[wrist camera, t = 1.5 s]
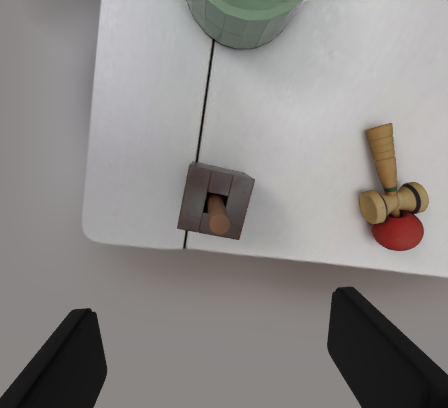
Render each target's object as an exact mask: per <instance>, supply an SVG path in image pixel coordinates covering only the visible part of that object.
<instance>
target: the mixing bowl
mask: <svg viewBox="0 0 448 408" xmlns="http://www.w3.org/2000/svg"><path fill="white" fill-rule="evenodd" d="M303 1H304V0H187V2H188V5H189V7H190V10H191V13H192V15H193V17H194V18H195V19H196V21H197V22H198V23H199V25H200V26H201V27H202V29H203V30H204V31H205V33H207V34H208V35H209V36H211V37H212V38H214V39H215V40H216V41H218V42H219V43H221V44H223V45H227V46H230V47H233V48H236V49H242V48H256V47H258V46H260V45H262V44H265V43H267V42H269V41H271V40H272V39H273V38H275V37H276V36H277V35H278V34H279V33H280V32H281V31H282V30H283V29H284V28H285V27H286V25H287V24H288V23H289V21H290V20H291V18H292V17H293V15H294V14H295V12H296V11H297V9H298V8H299V6H300V5H301V3H302V2H303Z"/></svg>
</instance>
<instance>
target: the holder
mask: <svg viewBox="0 0 448 408" xmlns="http://www.w3.org/2000/svg"><path fill="white" fill-rule="evenodd" d="M254 181H255V180H254V179H253V178H251V177H250V176H248V175H246V174H245V173H242V172H238V171H234V170H229V169H225V168H220V167H216V166H212V165H207V164H203V163H198V162H194V161H192V163H191V164H190V165H189V169H188V174H187V180H186V185H185V190H184V195H183V200H182V205H181V210H180V216H179V221H178V226H177V229H182V230H187V231H193V232H199V233H203V234H209V235H214V236H220V237H225V238H231V239H236V240H239V238H240V235H241V231H242V227H243V223H244V219H245V215H246V212H247V208H248V204H249V200H250V196H251V192H252V189H253V185H254ZM207 192H210V193H215V194H219V195H221V198H222V200H223V203H224V206H225V209H226V211H227V214H228V217H229V219H230V223H231V226H230V229H229V230H228V231H227V232H226V233H225V234H221V235H218V234H215V233H213V232H212V231H211V230H210V227H209V217H208V204H207V200H206V196H207Z"/></svg>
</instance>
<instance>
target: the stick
mask: <svg viewBox="0 0 448 408" xmlns="http://www.w3.org/2000/svg"><path fill="white" fill-rule="evenodd" d="M207 204H208V217H209V227H210V230H211V231H212V232H213V233H215V234H218V235H221V234H225V233H226V232H227V231H228V230H229V229H230V226H231V223H230V219H229V217H228V214H227V211H226V209H225V206H224V203H223V200H222V198H221V195H219V194H215V193H210V192H207Z"/></svg>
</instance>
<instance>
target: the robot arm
mask: <svg viewBox="0 0 448 408" xmlns="http://www.w3.org/2000/svg"><path fill="white" fill-rule="evenodd" d="M327 347H328V351H329V354H330V356H331V358H332V359H333V361H334V363H335V364H336V366H337V368H338V369H339V371H340V372H341V374H342V376H343V378H344V379H345V381H346V382H347V384H348V386H349V387H350V389H351V391H352V392H353V394H354V395H355V397H356V399H357V400H358V402H359V404H360V405H361V407H362V408H448V375H447V374H446V373H445V372H444V371H443V370H442V369H441V368H440V367H439V366H438V365H437V364H435V362H433V361H432V360H431V359H430V358H429V357H428V356H427V355H426V354H425V353H424V352H423V351H422V350H420V349H419V348H418V347H417V346H416V345H415V344H414V343H413V342H412V341H411V340H410V339H409V338H407V336H405V335H404V334H403V333H402V332H401V331H400V330H399V329H398V328H397V327H396V326H395V325H394V324H392V323H391V322H390V321H389V320H388V319H387V318H386V317H385V316H384V315H383V314H382V313H381V312H379V310H377V309H376V308H375V307H374V306H373V305H372V304H371V303H370V302H369V301H368V300H367V299H366V298H365V297H363V296H362V295H361V294H360V293H359V292H358V291H357V290H356V289H355V288H353V287H341V288H340V287H339V288H337V289H336V291H335V292H333V294H332V302H331V312H330V323H329V332H328V342H327ZM106 375H107V365H106V360H105V355H104V349H103V344H102V339H101V334H100V329H99V324H98V319H97V314H96V313H95V312H92V310H91V309H90V308H87V309H74V310H72V311H71V312H70V313H69V314H68V315H67V317H66V318H65V319H64V320H63V321H62V323H61V324H60V325H59V327H58V328H57V329H56V330H55V331H54V332H53V334H52V335H51V336H50V337H49V339H48V340H47V341H46V343H45V344H44V345H43V346H42V347H41V349H40V350H39V351H38V352H37V354H36V355H35V356H34V358H32V360H31V361H30V362H29V363H28V365H27V366H26V367H25V368H24V370H23V371H22V372H21V373H20V374H19V376H18V377H17V378H16V379H15V381H14V382H13V383H12V384H11V386H10V387H9V388H8V389H7V390H6V392H5V393H4V394H3V395H2V397H1V398H0V408H93V407H94V405H95V403H96V400H97V398H98V396H99V393H100V391H101V388H102V386H103V384H104V381H105V379H106Z"/></svg>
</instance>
